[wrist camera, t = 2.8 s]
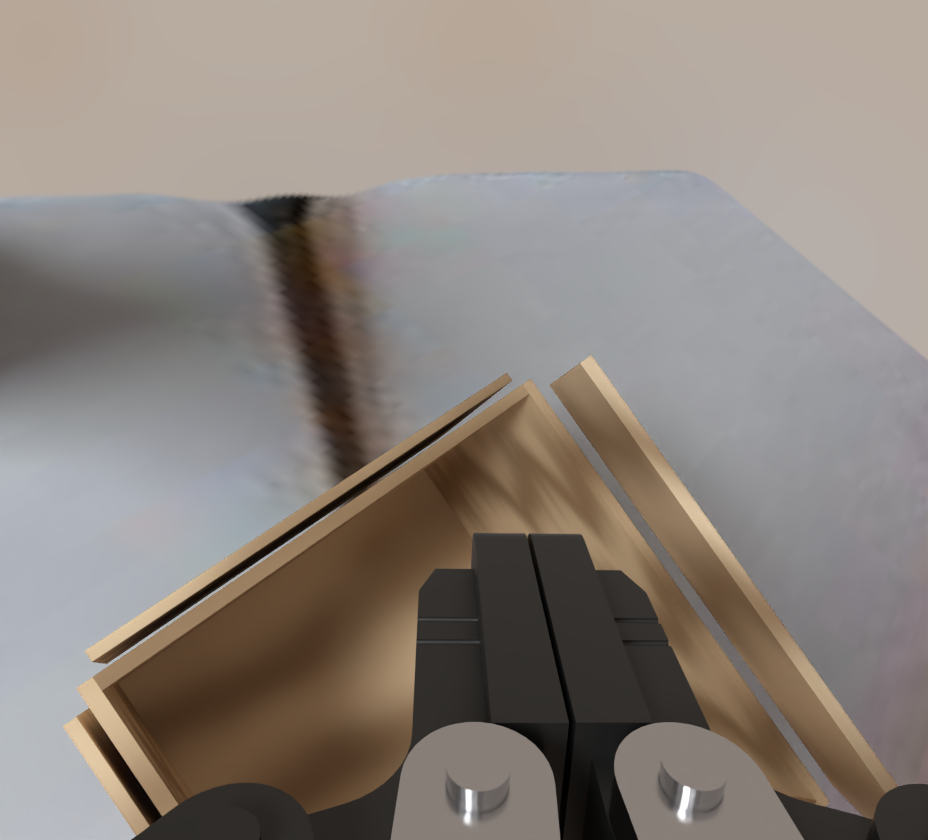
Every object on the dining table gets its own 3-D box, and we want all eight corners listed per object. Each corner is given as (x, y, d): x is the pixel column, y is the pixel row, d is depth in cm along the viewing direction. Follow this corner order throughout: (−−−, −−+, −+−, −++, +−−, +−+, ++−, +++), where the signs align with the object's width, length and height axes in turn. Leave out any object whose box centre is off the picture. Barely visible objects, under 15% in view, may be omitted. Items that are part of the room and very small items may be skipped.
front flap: (580, 363, 21) (591, 355, 21) (549, 385, 31) (557, 379, 31) (1001, 955, 20) (1012, 947, 20) (833, 785, 30) (840, 780, 30)
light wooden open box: (75, 678, 33) (33, 684, 21) (416, 448, 43) (521, 362, 31) (366, 1110, 32) (497, 1376, 20) (643, 773, 43) (841, 815, 30)
